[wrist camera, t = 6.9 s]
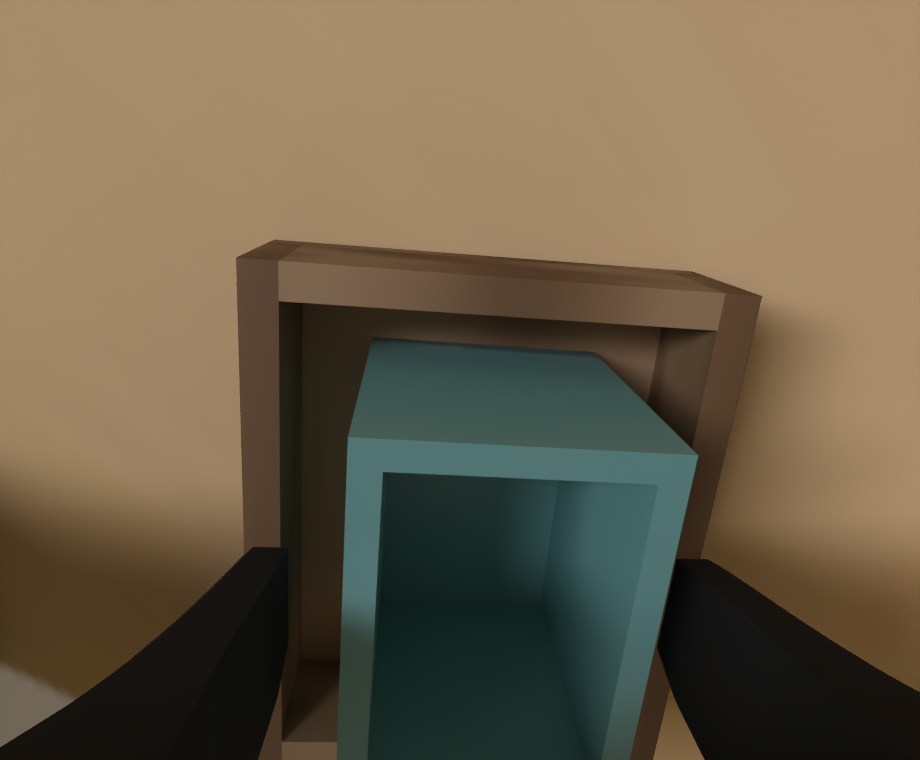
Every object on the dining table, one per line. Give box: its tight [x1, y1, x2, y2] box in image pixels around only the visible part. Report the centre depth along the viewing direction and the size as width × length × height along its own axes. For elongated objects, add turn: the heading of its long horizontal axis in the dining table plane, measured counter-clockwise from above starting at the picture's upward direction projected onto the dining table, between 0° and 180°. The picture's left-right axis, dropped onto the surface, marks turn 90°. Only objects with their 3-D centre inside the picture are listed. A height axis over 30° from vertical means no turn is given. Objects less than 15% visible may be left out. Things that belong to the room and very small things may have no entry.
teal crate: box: [337, 337, 698, 760], centre depth 12 cm, size 5×7×6 cm
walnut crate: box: [236, 240, 762, 760], centre depth 14 cm, size 9×11×3 cm
